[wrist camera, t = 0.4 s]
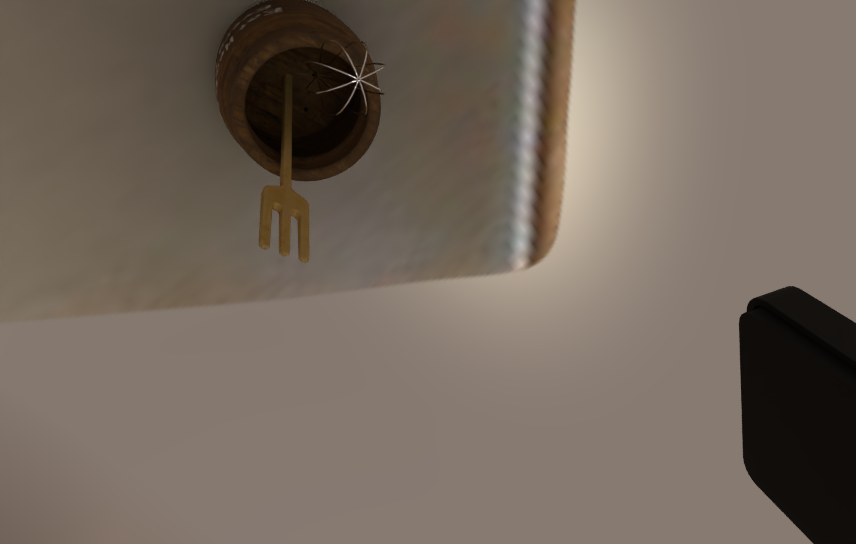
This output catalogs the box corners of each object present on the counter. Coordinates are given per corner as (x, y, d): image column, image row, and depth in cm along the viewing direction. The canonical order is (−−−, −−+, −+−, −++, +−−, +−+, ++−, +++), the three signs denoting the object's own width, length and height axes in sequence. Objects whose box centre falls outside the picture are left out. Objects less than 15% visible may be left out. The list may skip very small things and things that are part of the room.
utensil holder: (382, 33, 31) (468, 97, 21) (322, 166, 33) (374, 287, 23) (247, -33, 29) (268, 1, 18) (191, 115, 31) (181, 222, 20)
